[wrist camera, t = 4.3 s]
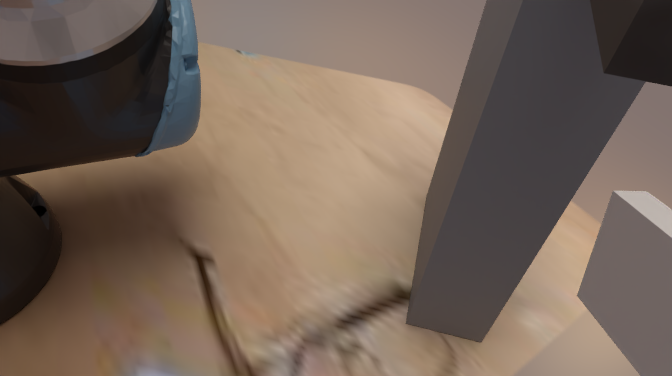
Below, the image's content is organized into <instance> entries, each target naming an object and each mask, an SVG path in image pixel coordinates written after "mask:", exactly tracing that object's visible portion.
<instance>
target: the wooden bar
mask: <svg viewBox="0 0 672 376" xmlns="http://www.w3.org/2000/svg"><path fill="white" fill-rule="evenodd" d="M590 3H591V8H592V14H593V19H594V24H595V30H596V35H597V40H598V46H599V51H600V56H601V62H602V67H603V72H604V73H605V74H610V75H615V76H620V77H625V78H631V79H636V80H641V81H646V82H652V83H657V84H662V85H667V86H672V0H590Z"/></svg>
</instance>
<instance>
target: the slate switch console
mask: <svg viewBox="0 0 672 376" xmlns="http://www.w3.org/2000/svg"><path fill="white" fill-rule="evenodd" d="M645 82H646V81H641V80H636V79H631V78H625V77H620V76H615V75H610V74H605V73H604V72H603V67H602V62H601V56H600V51H599V46H598V40H597V35H596V30H595V24H594V19H593V14H592V8H591V3H590V0H487V1H486V4H485V7H484V11H483V14H482V18H481V21H480V24H479V27H478V30H477V34H476V37H475V40H474V43H473V47H472V50H471V53H470V57H469V60H468V63H467V66H466V70H465V73H464V76H463V79H462V83H461V86H460V89H459V93H458V96H457V99H456V102H455V105H454V109H453V112H452V115H451V118H450V122H449V125H448V128H447V131H446V135H445V138H444V141H443V145H442V148H441V151H440V154H439V158H438V161H437V164H436V167H435V171H434V174H433V177H432V180H431V184H430V187H429V190H428V193H427V198H426V204H425V210H424V216H423V222H422V228H421V234H420V240H419V246H418V252H417V259H416V265H415V271H414V277H413V283H412V289H411V295H410V301H409V307H408V314H407V320H406V324H410V325H414V326H418V327H422V328H426V329H430V330H434V331H438V332H442V333H446V334H450V335H454V336H458V337H462V338H466V339H470V340H474V341H478V342H482V340H483V339H484V337H485V336H486V334H487V333H488V331H489V329H490V328H491V326H492V325H493V323H494V321H495V320H496V318H497V317H498V315H499V314H500V312H501V310H502V309H503V307H504V306H505V304H506V302H507V301H508V299H509V298H510V296H511V294H512V293H513V291H514V290H515V288H516V287H517V285H518V283H519V282H520V280H521V279H522V277H523V275H524V274H525V272H526V271H527V269H528V268H529V266H530V264H531V263H532V261H533V260H534V258H535V256H536V255H537V253H538V252H539V250H540V249H541V247H542V245H543V244H544V242H545V241H546V239H547V237H548V236H549V234H550V233H551V231H552V229H553V228H554V226H555V225H556V223H557V222H558V220H559V218H560V217H561V215H562V214H563V212H564V210H565V209H566V207H567V206H568V204H569V203H570V201H571V199H572V198H573V196H574V195H575V193H576V191H577V190H578V188H579V187H580V185H581V184H582V182H583V180H584V179H585V177H586V176H587V174H588V172H589V171H590V169H591V167H592V166H593V164H594V163H595V161H596V160H597V158H598V157H599V155H600V153H601V152H602V150H603V149H604V147H605V145H606V144H607V142H608V141H609V139H610V138H611V136H612V134H613V133H614V131H615V129H616V128H617V126H618V125H619V123H620V122H621V120H622V118H623V117H624V115H625V114H626V112H627V110H628V109H629V107H630V106H631V104H632V103H633V101H634V99H635V98H636V96H637V95H638V93H639V91H640V90H641V88H642V87H643V85H644V83H645Z"/></svg>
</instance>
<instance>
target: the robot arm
mask: <svg viewBox="0 0 672 376" xmlns="http://www.w3.org/2000/svg"><path fill="white" fill-rule="evenodd" d="M197 60H198V41H197V33H196V26H195V20H194V13H193V9H192V3H191V0H0V324H1V323H3V322H4V321H6V320H7V319H9V318H10V317H12V316H13V315H14V314H16V313H17V312H18V311H20V310H21V309H22V308H23V307H24V306H25V305H27V304H28V303H29V302H30V301H31V300H32V299H33V298H34V297H35V296H36V295H37V293H38V292H39V291H40V290H41V289H42V287H43V286H44V285H45V284H46V282H47V281H48V279H49V278H50V276H51V274H52V272H53V270H54V268H55V266H56V264H57V261H58V259H59V255H60V251H61V244H62V237H61V230H60V226H59V224H58V221H57V219H56V217H55V216H54V214H53V212H52V210H51V208H50V206H49V205H48V203H47V202H46V200H45V199H44V198H43V197H42V196H41V195H40V194H39V193H38V192H37V191H36V190H35V189H34V188H32V187H31V186H29V185H28V184H27V183H25V182H24V181H23V180H21V179H20V178H19V177H17V176H16V175H18V174H24V173H30V172H36V171H42V170H48V169H54V168H60V167H67V166H73V165H79V164H86V163H92V162H99V161H105V160H112V159H118V158H124V157H131V156H135V157H141V156H145V155H148V154H150V153H151V152H152V151H157V150H161V149H166V148H170V147H175V146H178V145H181V144H183V143H185V142H187V141H188V140H189V139H190V138H191V137H192V136H193V134H194V133H195V131H196V129H197V126H198V122H199V117H200V107H201V80H200V70H199V65H198V63H197ZM577 296H578V297H579V299H580V300H581V301H582V302H583V304H584V305H585V306H586V308H587V309H588V310H589V311H590V312H591V314H592V315H593V316H594V318H595V319H596V320H597V321H598V323H599V324H600V325H601V327H602V328H603V329H604V330H605V331H606V333H607V334H608V335H609V337H610V338H611V339H612V340H613V342H614V343H615V344H616V345H617V347H618V348H619V349H620V350H621V352H622V353H623V354H624V355H625V357H626V358H627V359H628V360H629V362H630V363H631V364H632V366H633V367H634V368H635V369H636V371H637V372H638V373H639V375H640V376H672V209H670V208H669V207H667V206H666V205H665V204H663V203H662V202H661V201H659V200H658V199H657V198H655V197H654V196H652V195H651V194H650V193H648V192H647V191H613V192H612V196H611V198H610V201H609V204H608V207H607V210H606V213H605V216H604V219H603V221H602V224H601V227H600V230H599V233H598V236H597V239H596V242H595V245H594V248H593V251H592V254H591V256H590V259H589V262H588V265H587V268H586V271H585V274H584V277H583V280H582V283H581V286H580V289H579V291H578V294H577Z"/></svg>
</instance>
